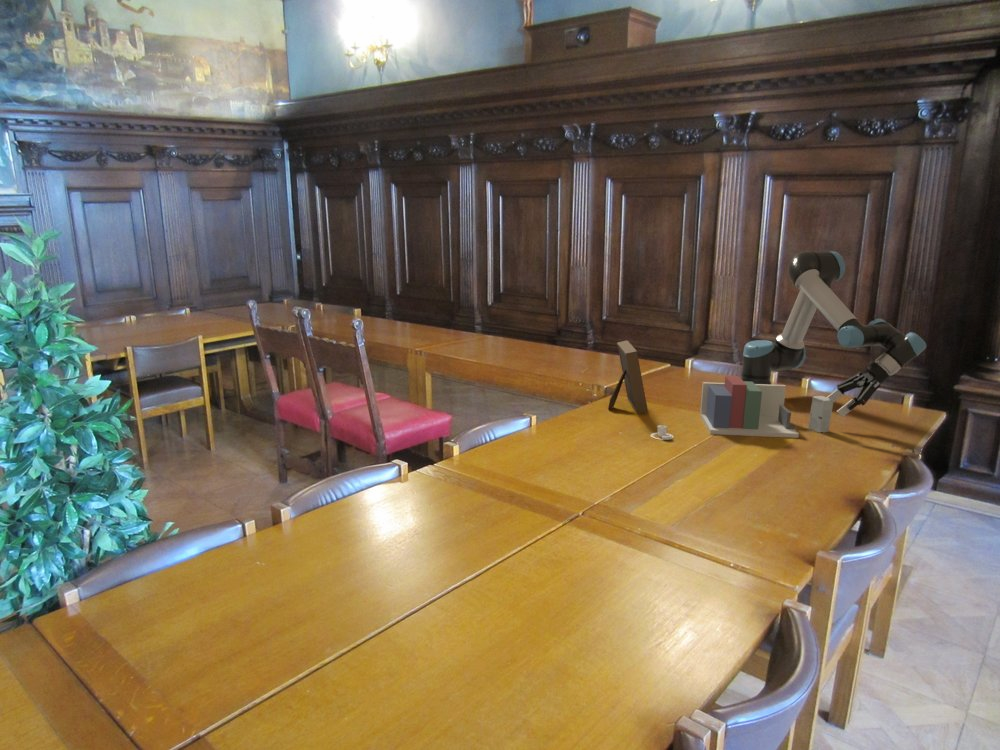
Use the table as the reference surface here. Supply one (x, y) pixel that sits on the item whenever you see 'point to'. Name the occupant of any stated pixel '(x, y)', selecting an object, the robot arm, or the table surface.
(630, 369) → the photo frame
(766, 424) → the book shelf
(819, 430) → the skincare box
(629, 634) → the table surface
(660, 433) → the coiled charger cable
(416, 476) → the table surface
